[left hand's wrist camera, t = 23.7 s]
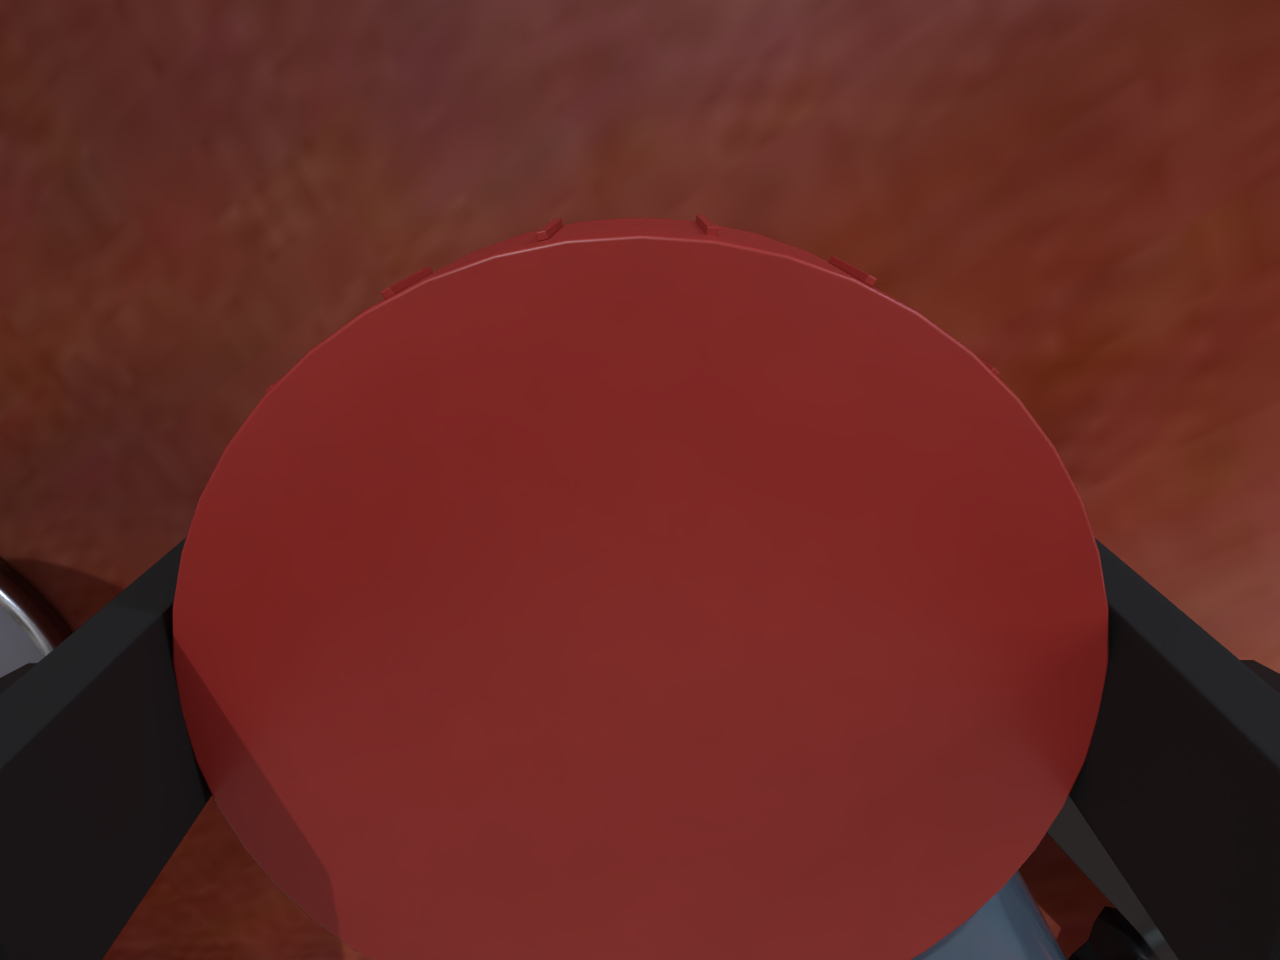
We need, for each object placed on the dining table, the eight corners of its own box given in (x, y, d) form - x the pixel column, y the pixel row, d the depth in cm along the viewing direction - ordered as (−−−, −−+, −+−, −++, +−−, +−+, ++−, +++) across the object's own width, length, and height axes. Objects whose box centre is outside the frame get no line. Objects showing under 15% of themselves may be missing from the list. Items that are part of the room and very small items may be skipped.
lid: (1153, 669, 13) (1266, 783, 10) (583, 987, 15) (573, 1136, 13) (730, 10, 9) (759, -35, 7) (95, 546, 12) (-34, 638, 10)
